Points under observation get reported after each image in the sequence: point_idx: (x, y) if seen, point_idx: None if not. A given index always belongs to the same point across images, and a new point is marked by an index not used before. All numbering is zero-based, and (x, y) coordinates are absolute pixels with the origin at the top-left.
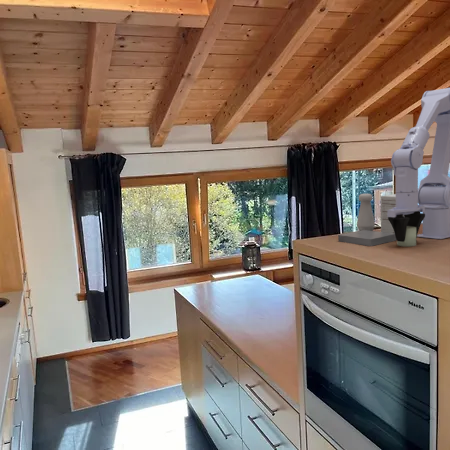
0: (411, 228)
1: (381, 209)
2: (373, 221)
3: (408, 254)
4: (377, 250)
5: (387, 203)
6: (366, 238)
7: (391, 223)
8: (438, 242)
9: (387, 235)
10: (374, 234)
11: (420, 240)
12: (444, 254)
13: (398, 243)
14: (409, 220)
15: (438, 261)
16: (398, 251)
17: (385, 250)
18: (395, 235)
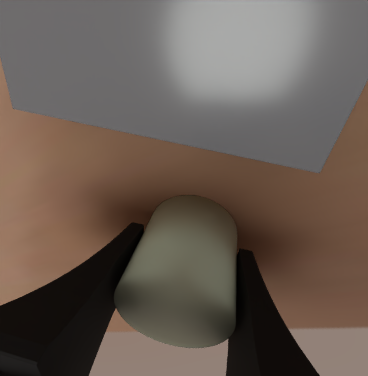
0: (149, 334)
1: None
2: None
3: (48, 270)
4: (9, 172)
5: None
6: (10, 63)
7: (39, 293)
8: (309, 312)
9: (210, 143)
10: (207, 7)
11: (346, 255)
12: (117, 330)
13: (152, 215)
14: (243, 369)
15: None
16: (58, 239)
17: (35, 198)
18: (115, 238)
